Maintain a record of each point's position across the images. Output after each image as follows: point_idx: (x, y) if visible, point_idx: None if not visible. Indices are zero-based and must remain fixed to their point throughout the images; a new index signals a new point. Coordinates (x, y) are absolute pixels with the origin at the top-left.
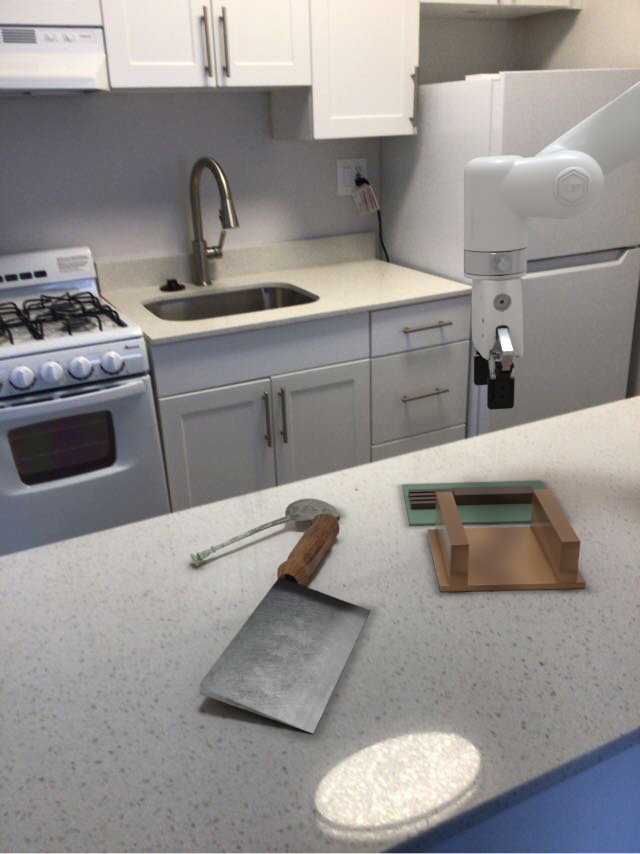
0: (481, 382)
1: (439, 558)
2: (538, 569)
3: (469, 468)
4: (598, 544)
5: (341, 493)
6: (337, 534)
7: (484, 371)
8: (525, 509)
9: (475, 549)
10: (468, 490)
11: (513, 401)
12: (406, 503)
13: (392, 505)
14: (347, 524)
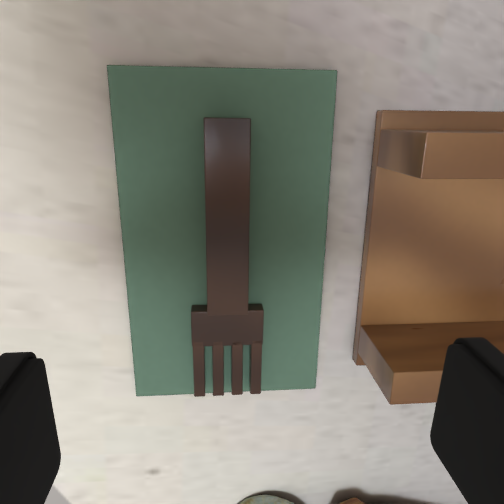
0: (52, 445)
1: None
2: None
3: (23, 240)
4: (447, 21)
5: (171, 494)
6: (359, 500)
7: (14, 493)
8: (278, 152)
9: (445, 292)
10: (225, 282)
11: (501, 355)
12: (229, 391)
13: (227, 411)
14: (296, 478)
